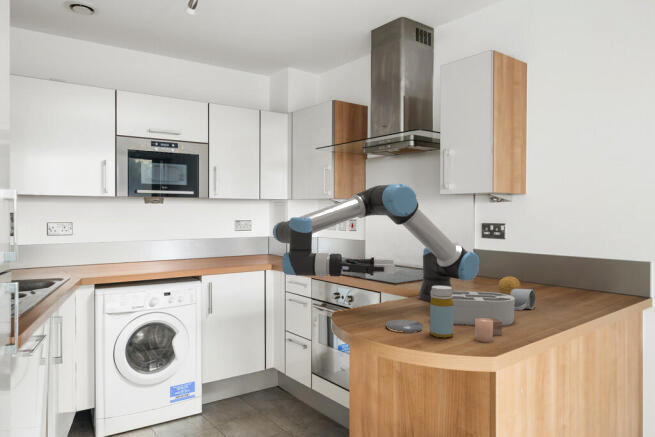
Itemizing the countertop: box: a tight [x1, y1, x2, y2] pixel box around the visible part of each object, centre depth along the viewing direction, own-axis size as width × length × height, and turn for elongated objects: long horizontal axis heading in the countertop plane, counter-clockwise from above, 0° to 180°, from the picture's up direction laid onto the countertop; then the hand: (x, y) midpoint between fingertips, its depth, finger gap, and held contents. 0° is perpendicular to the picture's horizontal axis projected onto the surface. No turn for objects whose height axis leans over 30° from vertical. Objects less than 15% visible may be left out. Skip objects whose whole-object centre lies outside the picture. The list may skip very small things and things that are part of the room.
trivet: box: [385, 319, 424, 332], centre depth 142 cm, size 12×12×1 cm
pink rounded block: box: [474, 318, 494, 343], centre depth 130 cm, size 5×5×6 cm
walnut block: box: [488, 318, 503, 337], centre depth 136 cm, size 4×4×4 cm
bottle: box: [429, 286, 454, 339], centre depth 134 cm, size 7×7×15 cm
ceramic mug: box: [510, 288, 537, 311], centre depth 172 cm, size 11×8×8 cm
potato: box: [497, 276, 522, 295], centre depth 193 cm, size 10×13×9 cm
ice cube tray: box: [431, 290, 515, 327], centre depth 154 cm, size 17×28×9 cm, turn 81°
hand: (394, 266), depth 141 cm, fingers open, 13 cm apart
